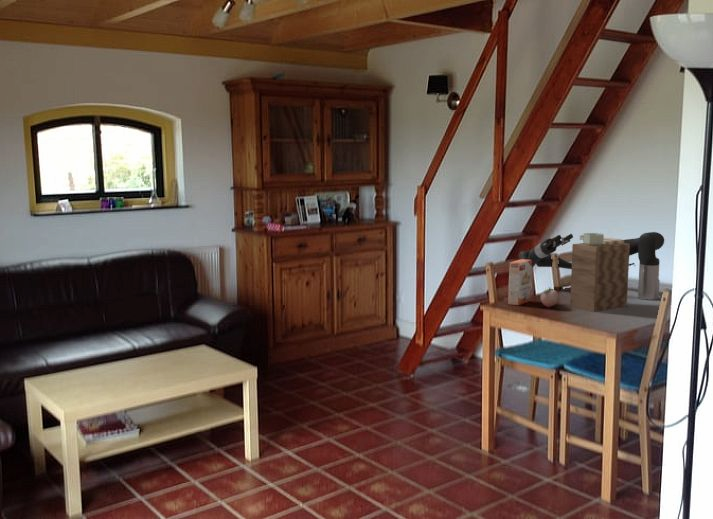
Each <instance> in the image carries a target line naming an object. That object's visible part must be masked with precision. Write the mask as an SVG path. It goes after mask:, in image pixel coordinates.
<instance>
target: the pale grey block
mask: <svg viewBox="0 0 713 519" xmlns="http://www.w3.org/2000/svg"><path fill="white" fill-rule="evenodd" d="M583 235H584V236H583V240H582V241H583V242H582V243H584V245H588V246H601V245H602V243H603V239H604V238H605V236H604V234H603V233H598V232H587V233H583Z"/></svg>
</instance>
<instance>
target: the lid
mask: <svg viewBox="0 0 713 519" xmlns="http://www.w3.org/2000/svg"><path fill="white" fill-rule="evenodd" d="M583 236H584V234H582V235H579V240H581V241H583ZM624 240H625V239H622V238H613V237H612V238H611V237H610V238H609V237H604V239H603V243H602V244H607V245H612V244H621V243H624Z"/></svg>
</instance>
